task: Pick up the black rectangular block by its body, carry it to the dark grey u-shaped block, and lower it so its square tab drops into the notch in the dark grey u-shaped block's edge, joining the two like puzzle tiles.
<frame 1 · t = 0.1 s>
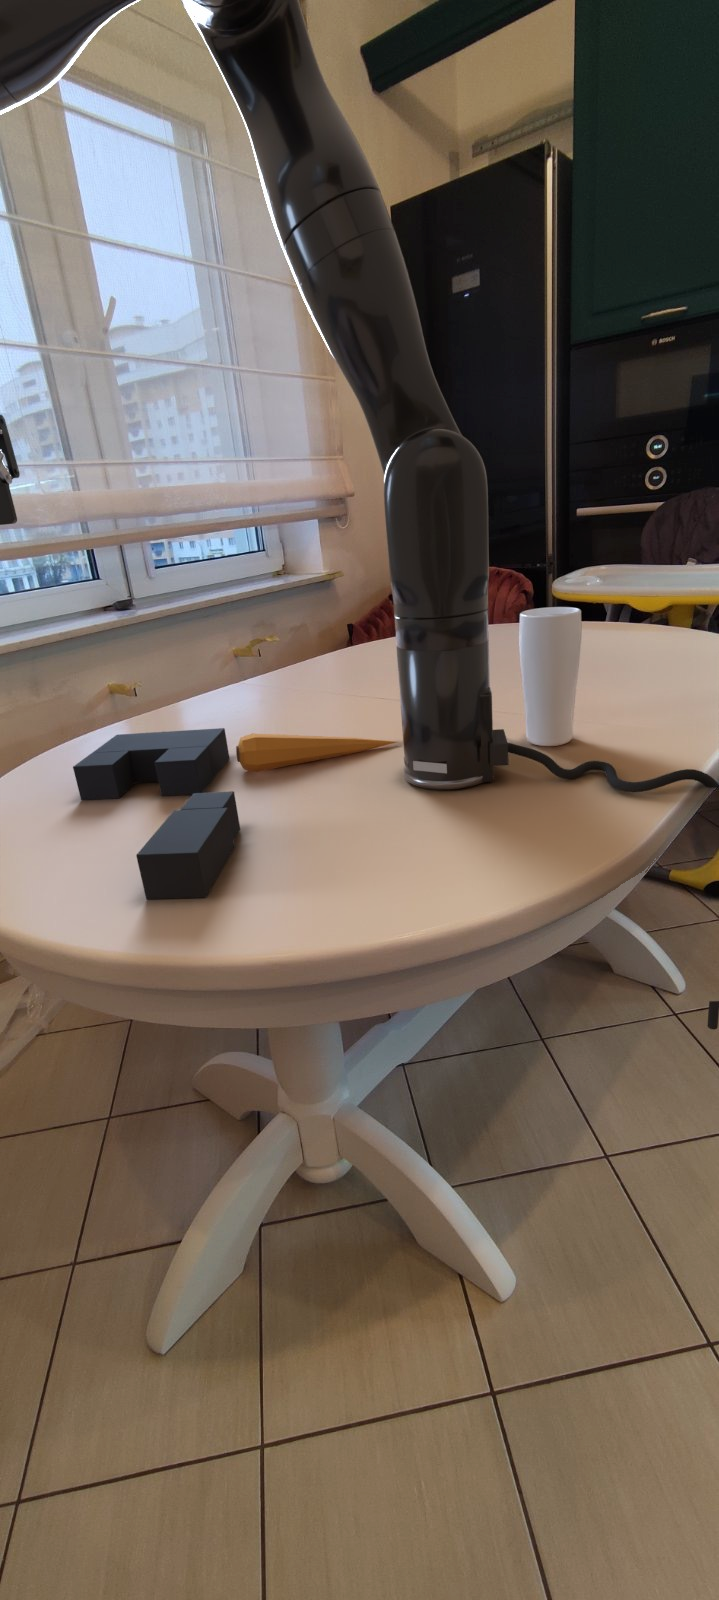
dark grey u-shaped block: (159, 778, 86), on the table
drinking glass: (549, 742, 86), on the table
black rectangular block: (193, 872, 62), on the table
carrot: (322, 760, 87), on the table
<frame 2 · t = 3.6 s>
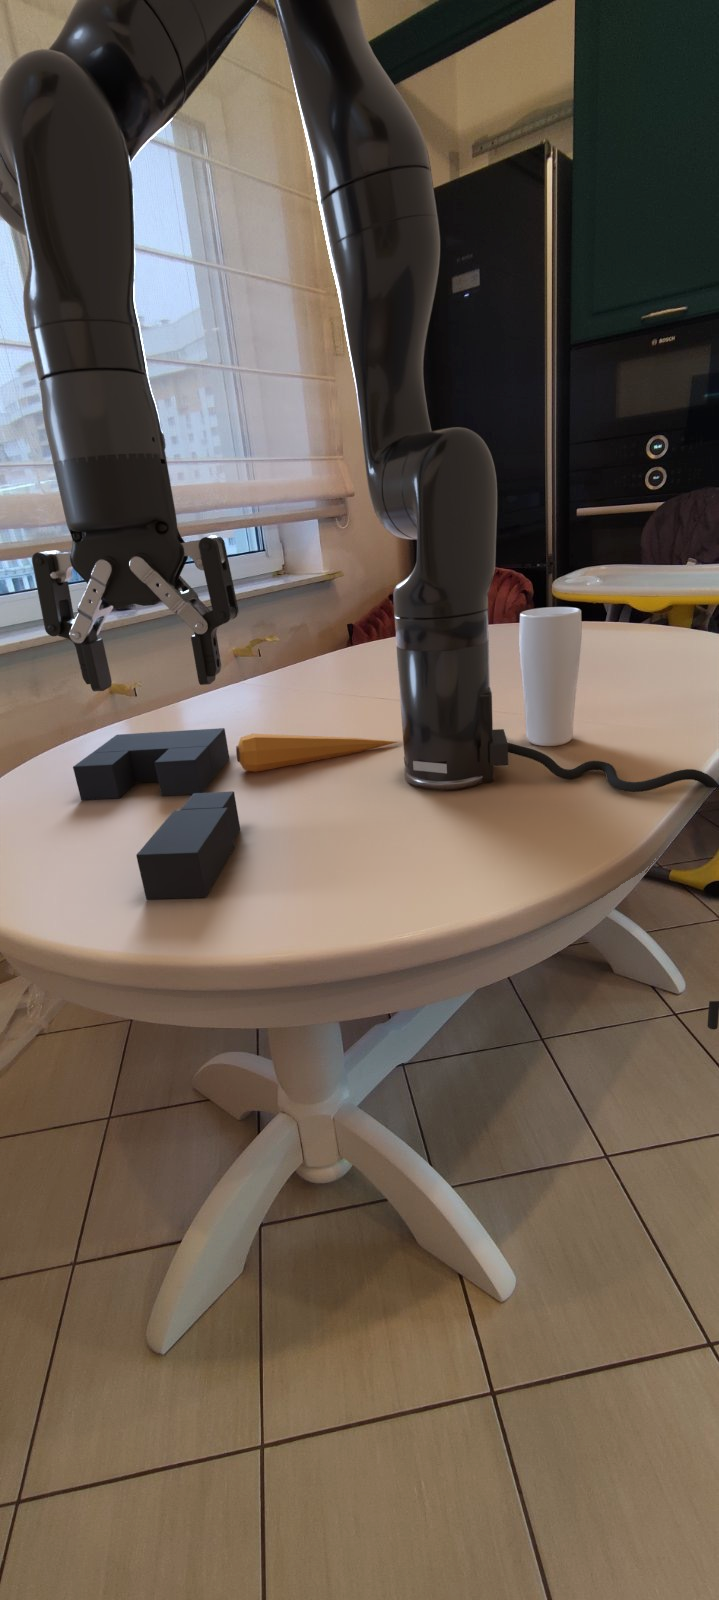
hand: (155, 685, 56), 16 cm above the table, tool pointing down, fingers open, 8 cm apart
nothing on the table moved.
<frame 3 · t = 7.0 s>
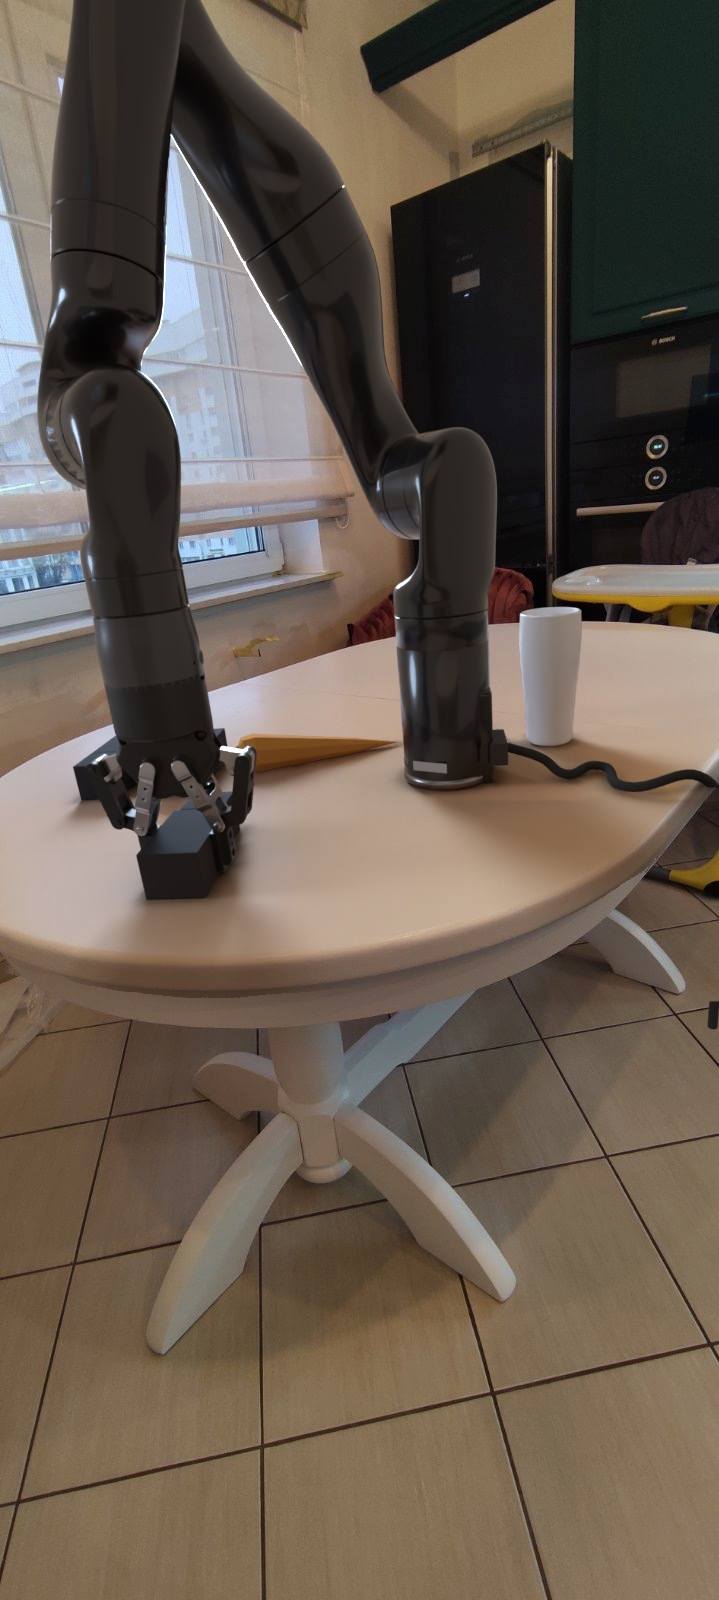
hand: (192, 867, 62), 0 cm above the table, tool pointing down, fingers closed on black rectangular block, 5 cm apart
black rectangular block: (193, 872, 62), on the table, touching gripper
everything else where it was.
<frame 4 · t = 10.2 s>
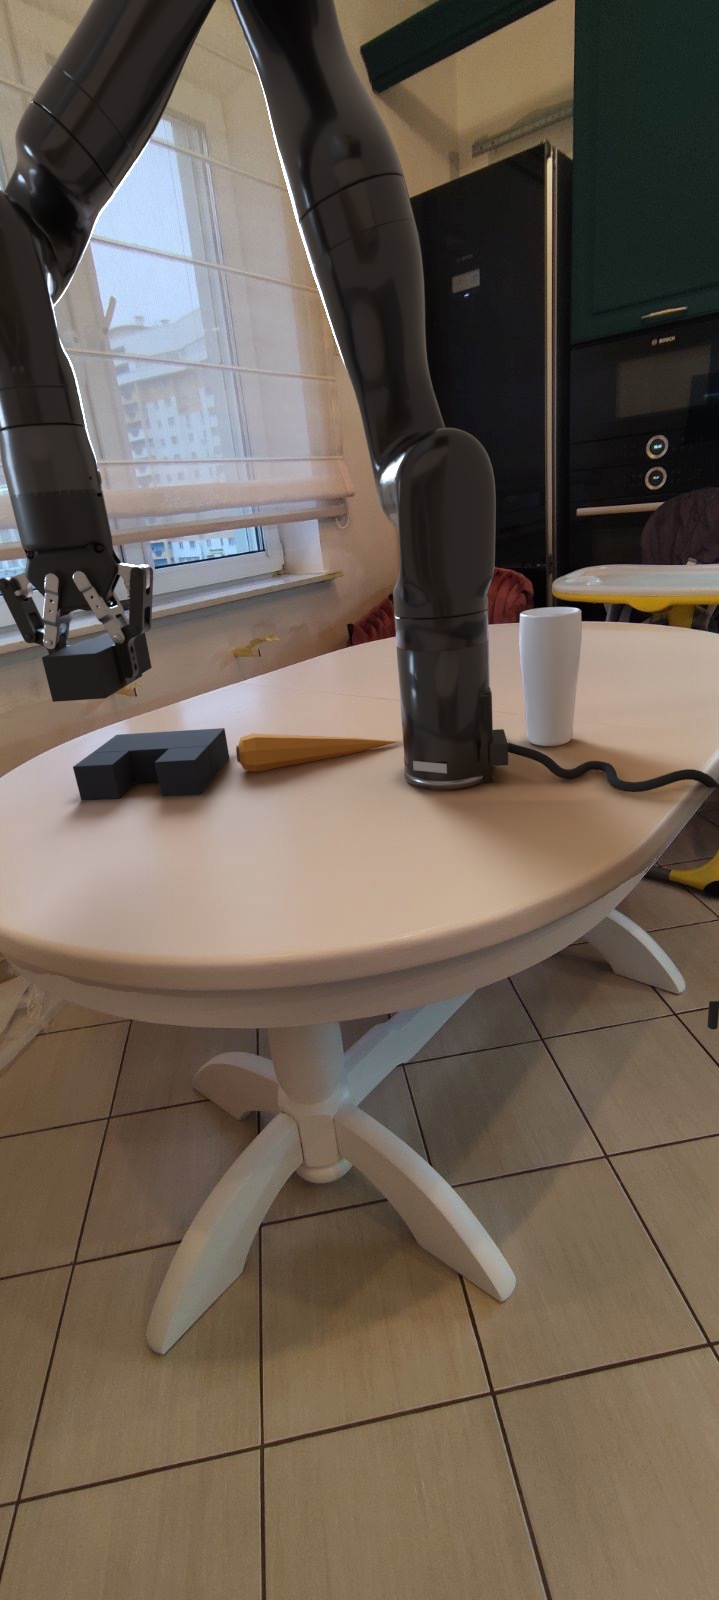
hand: (99, 683, 68), 14 cm above the table, tool pointing down, fingers closed on black rectangular block, 5 cm apart
black rectangular block: (100, 688, 68), point 14 cm above the table, touching gripper
everything else where it was.
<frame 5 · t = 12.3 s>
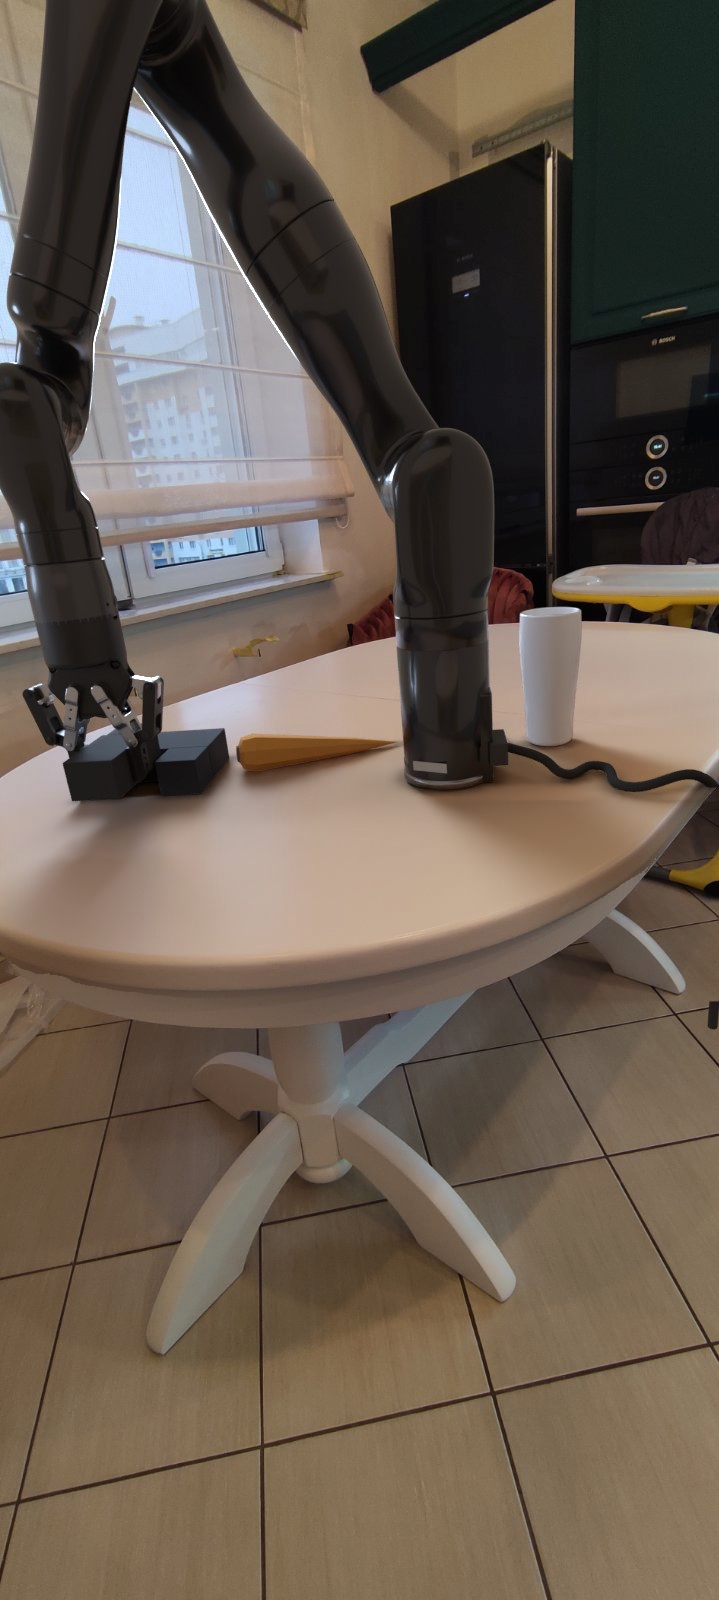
hand: (114, 780, 74), 4 cm above the table, tool pointing down, fingers closed on black rectangular block, 5 cm apart
black rectangular block: (114, 783, 74), point 3 cm above the table, touching gripper
everything else where it was.
when the fingers open (0 cm above the table, at t = 13.8 s): black rectangular block stays where it is, on the table.
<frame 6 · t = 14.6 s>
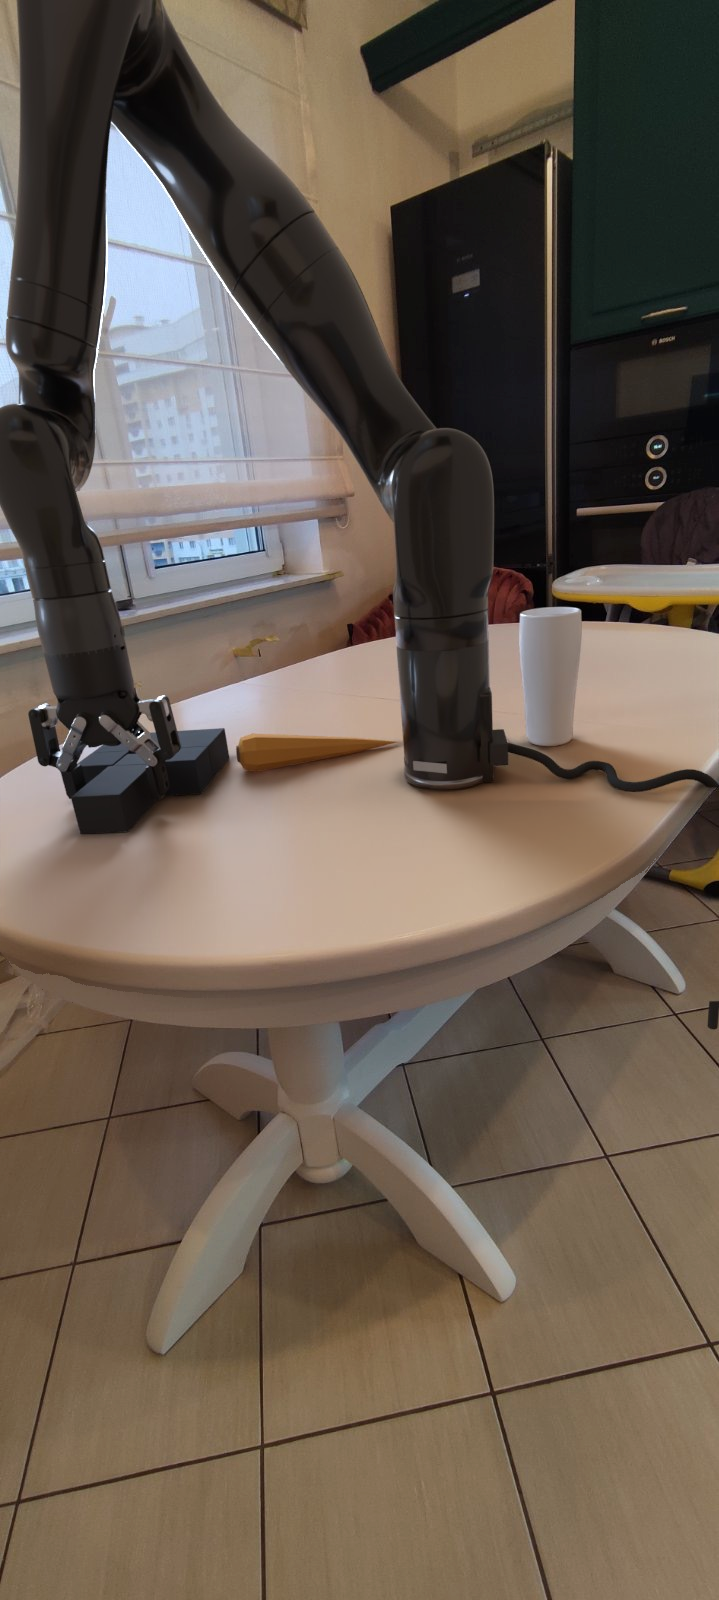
hand: (120, 799, 75), 2 cm above the table, tool pointing down, fingers open, 8 cm apart
black rectangular block: (121, 815, 76), on the table
everything else where it was.
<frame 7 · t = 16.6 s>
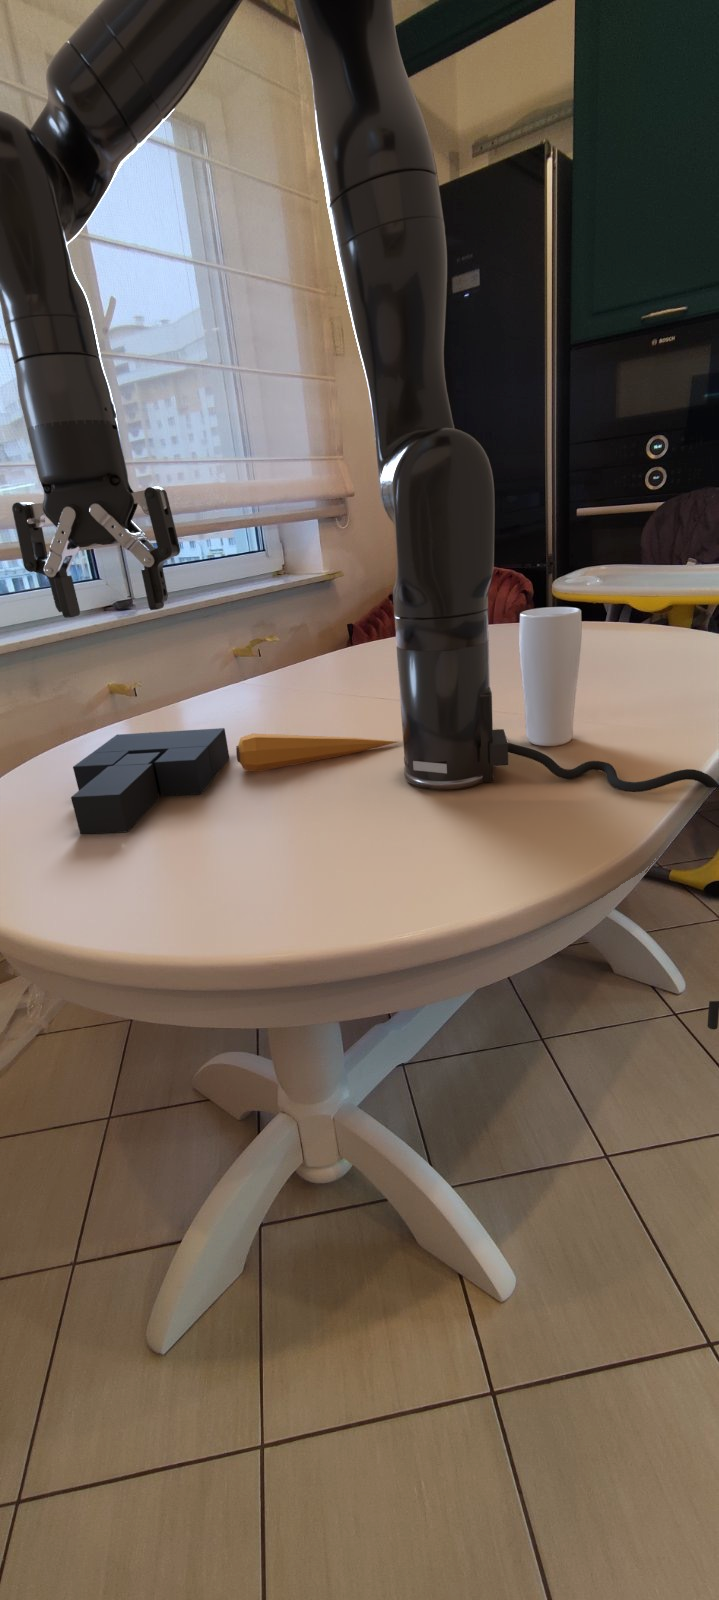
hand: (114, 612, 69), 20 cm above the table, tool pointing down, fingers open, 8 cm apart
nothing on the table moved.
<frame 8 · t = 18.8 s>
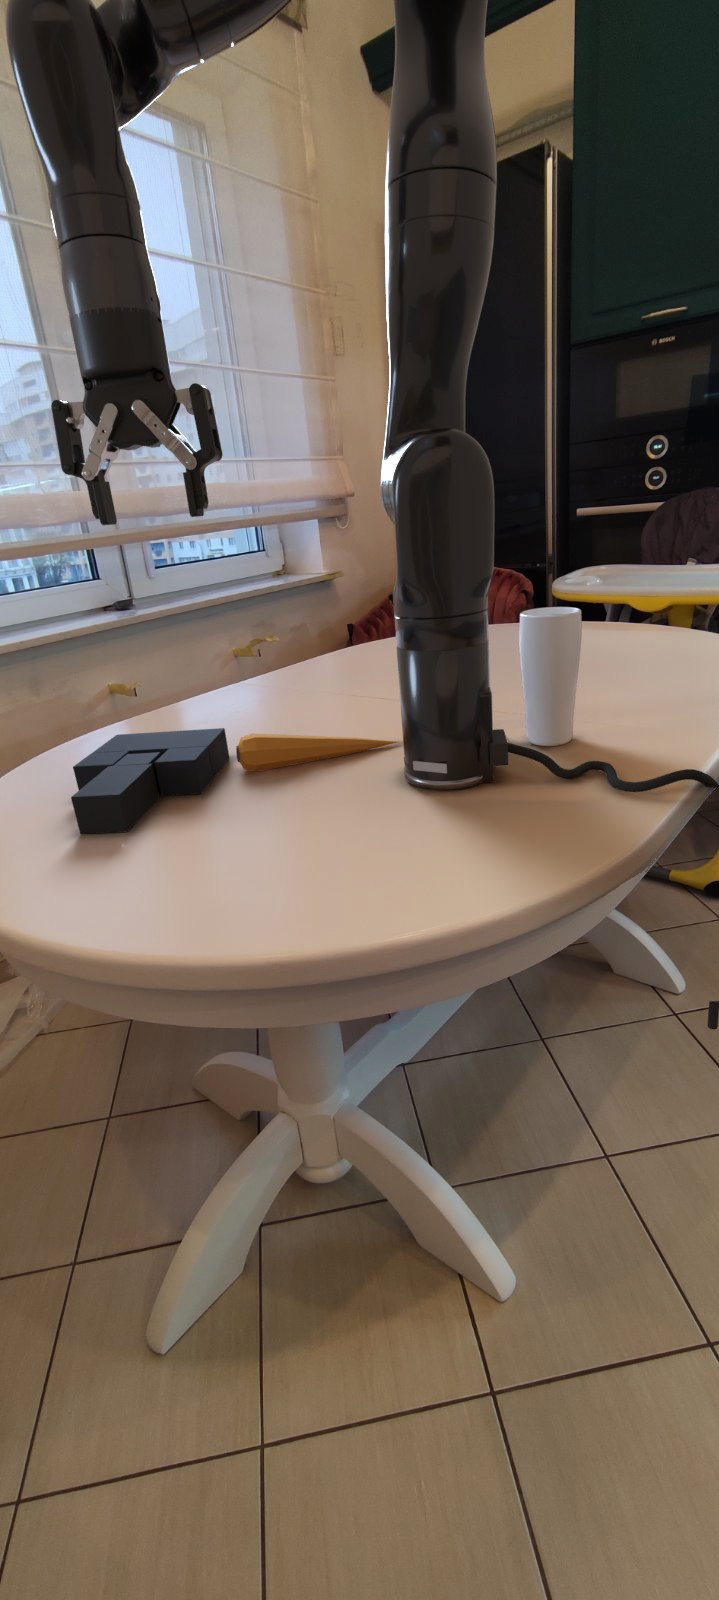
hand: (153, 520, 67), 28 cm above the table, tool pointing down, fingers open, 8 cm apart
nothing on the table moved.
at the end: black rectangular block 0.1 cm from the target spot on the table beside the dark grey u-shaped block, on the table; black rectangular block tilted 0°; the gripper is holding nothing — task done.
